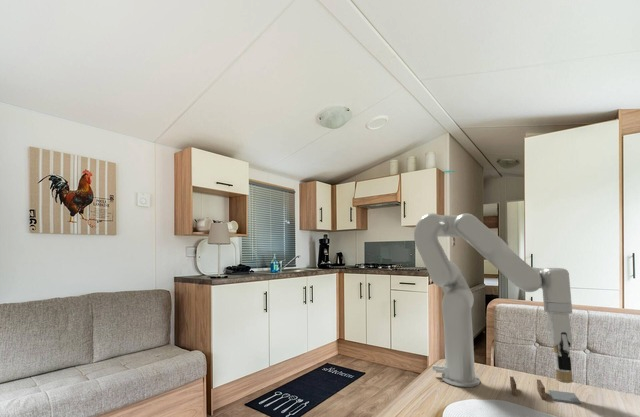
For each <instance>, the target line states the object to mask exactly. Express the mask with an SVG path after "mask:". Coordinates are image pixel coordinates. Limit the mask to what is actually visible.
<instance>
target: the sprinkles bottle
mask: <svg viewBox="0 0 640 417" xmlns="http://www.w3.org/2000/svg"><path fill="white" fill-rule="evenodd" d="M568 343H569V341H568ZM552 346H553V360H554V370H555V371H554V372H555V380H556V381H558V382H560V383H563V384H564V383H565V384H571V383H573V382H574V380H573V373H572V372H573V371H572V366H571V370H560V369H559V366H558V356H559V353H558V345H556V346H554V345H553V344H552ZM560 346H563V344H560ZM561 349H563V348H561ZM569 352H570V349H569ZM570 353H571V352H570Z"/></svg>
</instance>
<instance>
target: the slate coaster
mask: <svg viewBox="0 0 640 417" xmlns="http://www.w3.org/2000/svg"><path fill="white" fill-rule="evenodd" d="M547 390H548V391H547V392H548V394H549V395H550V397H551V398H552V401H554V402H561V403H568V404H577V405H582V402H581V400H580V399H579V397H577V395H576V393H574V392H568V391H560V390H551V389H547Z"/></svg>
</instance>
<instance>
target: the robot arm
mask: <svg viewBox="0 0 640 417" xmlns="http://www.w3.org/2000/svg"><path fill="white" fill-rule="evenodd" d="M438 237H442V238H443V237H445V238H446V237H449V238H462V239H463V240H464V241H466V242H467V243H468V244H469V245H470V246H471V247H472V248H473V249H475V250H476V251H477V253H479V254H480V255H481V256H482V257H483V258H484V259H485V260H487V261H488V263H490V264H491V265H492V266H493V267H495V268H496V269H497V270H498V271H499V272H500V273H501V274H502V275H503V276H504V277H505V278H507V279H508V280H509V281H510V282H511V283H512V284H514V286H516V287H517V288H518V289H520V290H521V291H522V292H526V293H534V292H536V291H539V289H541V290H542V298H543V302H542V303H543V311H544V313H546V331H547V340H548V341H549V342H550V344H551V345H552V346H553V345H554V346H556V345H558V353H559V356H558V366H559V369H560V370H571V367H572V361H571V360H572V359H571V352H569V350H570V348H571V347H572V346H573V337H572V327H571V319H570V318H571V317H570V315H571V314H573V306H572V305H573V304H572V302H573V301H572V294H571V282H570V273H569V271H568V270H567V269H566V268H564V267H563V268H561V267H545V268H541V267H539V268H538V267H533V266H530V264H528V263H527V261H525V260H523V258H521V257H520V256H519V255H518V254H517V253H515V252H514V250H512V249H511V248H510V246H508V243H506V242H505V241H504V239H503V238H501V237H500V236H498V234H496V233H495V232H494V231H492V230H491V229H490V228H489V227H488V226H487V225H485V223H483V222H482V221H481V220H479V218H478V217H477V216H475V215H473V214H471V213H468V212H467V213H461V214H458V215H456V214H455V215H454V214H453V215H452V214H451V215H450V214H448V215H447V214H444V215H443V214H442V215H441V214H437V213H433V212H432V213H427V214H425V215H423V216H422V217H421V218H420V219H419V220H418V222H417V223H416V224H415V227H414V231H413V241H414V243H415V247H416V249H417V251H418V253H419V255H420V258H421V259H422V261H423V264H424V266H425V268H426V270H427V272H428V275H429V277H430V279H431V281H432V282H433V284H435V285H436V286H438V287H439V288H441V290H442V292H443V293H444V294H443V297H442V300H441V310H442V312H441V313H442V318H443V320H442V321H443V334H444V355H445V358H444V359H445V362H444V365H443V364H441V365H438V364H437V365H436V364H433V365H432V371H434V372H435V373H436V374H437V373H439V374H441V375H440V376H441V380H442V381H443V382H445V383H447V384H448V385H452V386H454V387H455V386H456V387H461V388H472V387H476V386H479V385H480V383H481V379H480V377H479V376H477V375H476V372H475V369H476V368H475V352H474V351H475V350H474V348H475V347H474V335H473V334H474V333H473V319H472V307H473V306H474V303H475V302H474V301H475V300H474V298H475V297H474V294H473V292H472V290H471V289H470V286H469V284H468V282H467V280H466V279H465V277H464V276H463V273H462V272H461V269H460V268H459V267H458V265H457V264H456V263H454V262H453V261H451V260H449V258H448V256H447V254H446V253H445V250H444V248H443V247H442V246H443V245H441V243H440V241H439V238H438ZM568 341H569V343H568ZM560 344H563V346H560ZM561 348H563V349H561Z"/></svg>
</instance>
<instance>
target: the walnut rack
mask: <svg viewBox="0 0 640 417" xmlns="http://www.w3.org/2000/svg"><path fill="white" fill-rule="evenodd" d="M509 381H510V382H509V384H510V389H511V392H512V395H513V396H514V397H515V396H516V397H517V396H518V392H517V383H516V380H515V377H514V376H509ZM536 390H537V393H538V395H539V396H540V398H541V400H545V401H546V400H547V399H546V387H545V385H544V383H543V382H542V380H541V379H539V378H537V379H536Z"/></svg>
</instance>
